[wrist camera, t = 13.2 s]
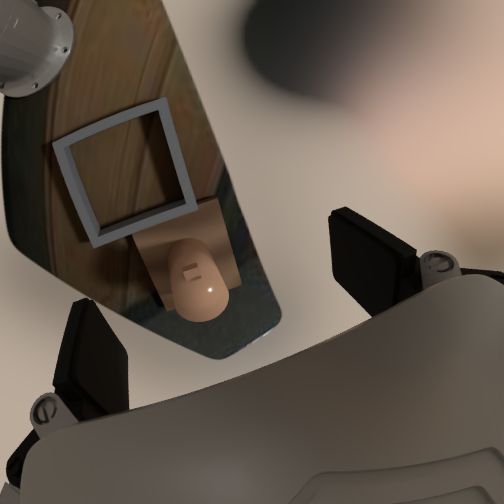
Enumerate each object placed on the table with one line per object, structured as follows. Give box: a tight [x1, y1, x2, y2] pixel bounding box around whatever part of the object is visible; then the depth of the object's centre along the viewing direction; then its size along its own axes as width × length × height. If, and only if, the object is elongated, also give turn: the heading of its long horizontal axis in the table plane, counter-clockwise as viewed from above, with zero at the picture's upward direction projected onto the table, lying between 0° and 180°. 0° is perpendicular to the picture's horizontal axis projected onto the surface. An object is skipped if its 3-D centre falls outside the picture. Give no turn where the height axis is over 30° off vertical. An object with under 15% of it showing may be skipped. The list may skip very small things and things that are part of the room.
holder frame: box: [52, 97, 198, 248], centre depth 32 cm, size 14×14×2 cm
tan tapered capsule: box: [167, 238, 229, 322], centre depth 36 cm, size 6×9×10 cm, turn 11°
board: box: [132, 196, 242, 311], centre depth 40 cm, size 14×12×1 cm
